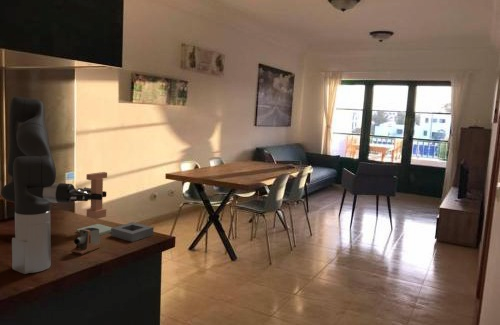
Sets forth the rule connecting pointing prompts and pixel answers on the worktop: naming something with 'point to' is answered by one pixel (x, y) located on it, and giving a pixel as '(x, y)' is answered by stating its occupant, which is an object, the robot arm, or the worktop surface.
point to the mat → (102, 228)
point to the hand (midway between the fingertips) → (103, 195)
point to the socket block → (132, 231)
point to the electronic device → (86, 241)
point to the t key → (96, 188)
